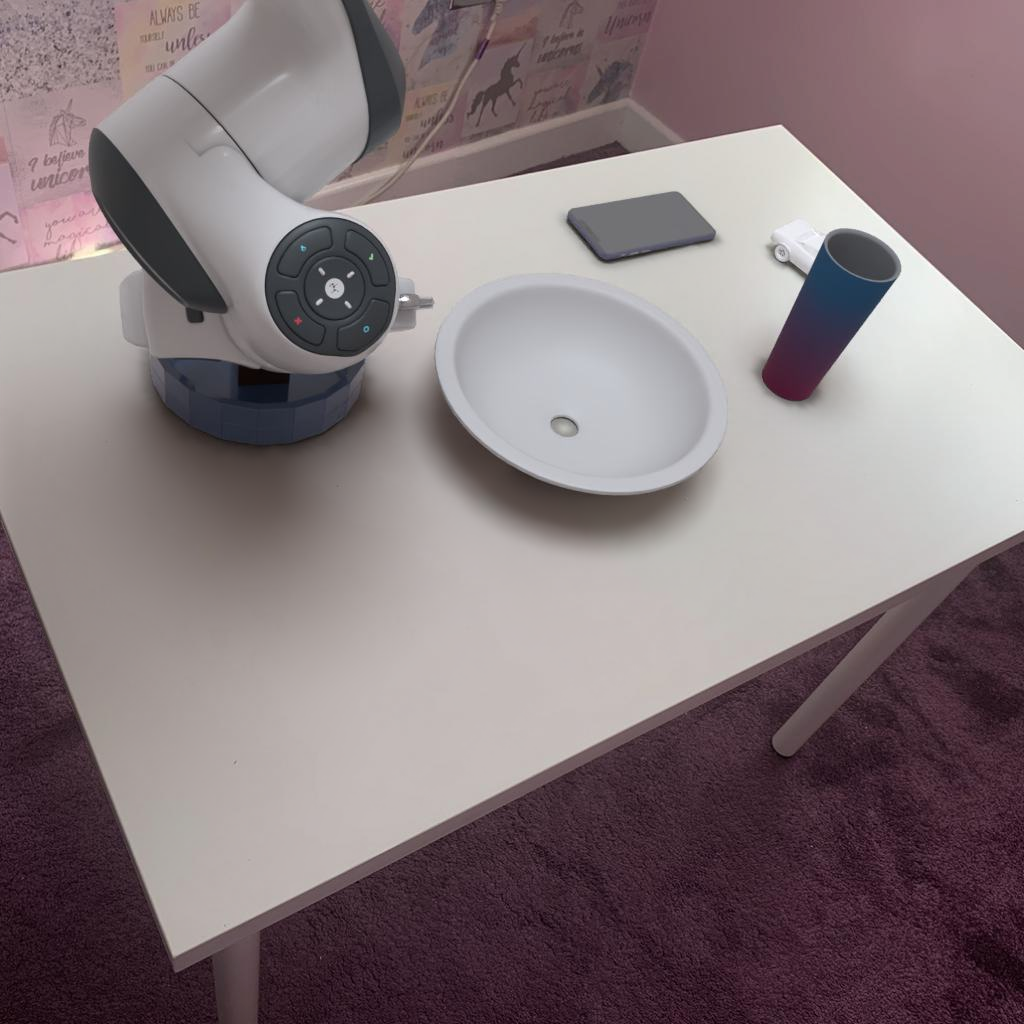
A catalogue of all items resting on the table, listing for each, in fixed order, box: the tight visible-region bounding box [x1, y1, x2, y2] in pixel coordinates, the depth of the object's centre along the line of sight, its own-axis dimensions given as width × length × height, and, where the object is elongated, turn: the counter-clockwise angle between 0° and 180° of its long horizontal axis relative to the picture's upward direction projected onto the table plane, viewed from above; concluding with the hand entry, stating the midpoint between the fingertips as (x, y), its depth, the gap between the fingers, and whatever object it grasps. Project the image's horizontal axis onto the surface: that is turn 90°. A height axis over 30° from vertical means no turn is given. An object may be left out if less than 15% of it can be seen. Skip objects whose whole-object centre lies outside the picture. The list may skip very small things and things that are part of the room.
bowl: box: [148, 348, 367, 446], centre depth 83 cm, size 16×16×4 cm
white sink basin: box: [433, 272, 729, 496], centre depth 86 cm, size 24×24×7 cm
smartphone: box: [566, 190, 717, 261], centre depth 108 cm, size 8×1×15 cm
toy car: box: [770, 218, 827, 276], centre depth 110 cm, size 6×12×3 cm, turn 41°
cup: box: [761, 227, 902, 401], centre depth 93 cm, size 7×7×15 cm
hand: (259, 313), depth 81 cm, fingers open, 8 cm apart
